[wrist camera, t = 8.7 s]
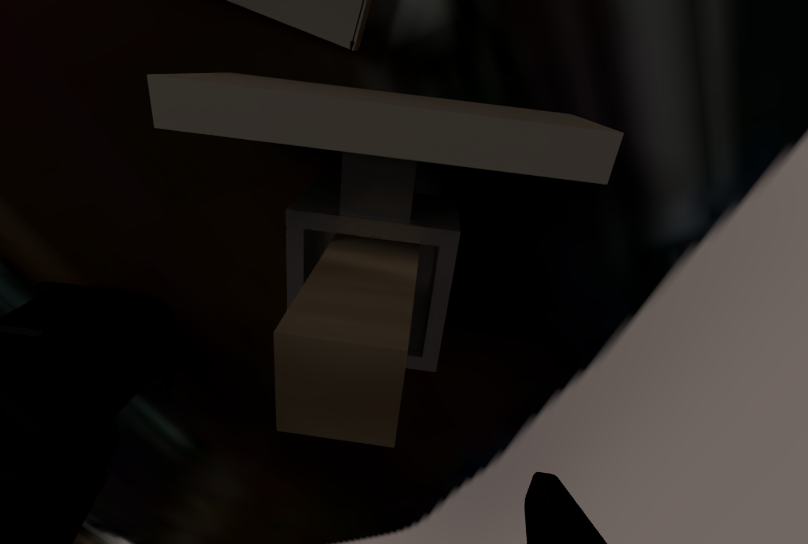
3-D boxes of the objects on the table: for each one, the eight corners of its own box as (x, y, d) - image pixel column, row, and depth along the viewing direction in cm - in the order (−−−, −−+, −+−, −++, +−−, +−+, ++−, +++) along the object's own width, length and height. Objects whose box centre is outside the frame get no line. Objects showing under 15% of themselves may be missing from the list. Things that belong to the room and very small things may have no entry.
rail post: (412, 300, 19) (394, 447, 11) (339, 290, 19) (276, 430, 11) (421, 231, 17) (407, 350, 10) (343, 221, 17) (273, 332, 10)
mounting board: (560, 152, 18) (607, 184, 13) (232, 111, 18) (154, 127, 13) (571, 114, 17) (623, 133, 12) (230, 72, 17) (147, 74, 12)
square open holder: (436, 317, 20) (435, 372, 16) (315, 301, 20) (287, 351, 17) (465, 145, 17) (472, 167, 13) (318, 127, 17) (284, 143, 13)
